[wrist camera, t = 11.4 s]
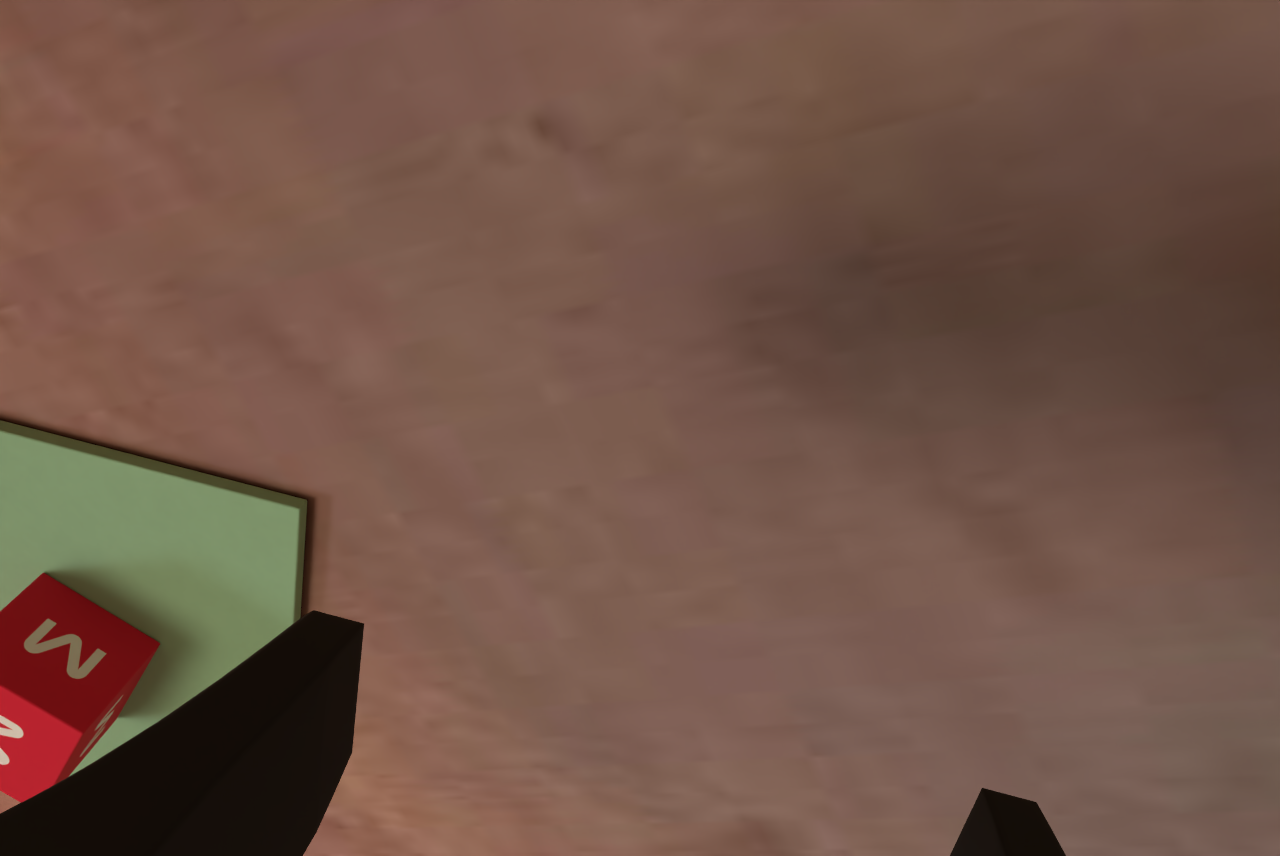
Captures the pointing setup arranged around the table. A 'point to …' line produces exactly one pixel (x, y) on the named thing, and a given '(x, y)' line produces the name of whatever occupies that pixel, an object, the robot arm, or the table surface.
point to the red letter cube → (60, 682)
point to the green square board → (152, 559)
